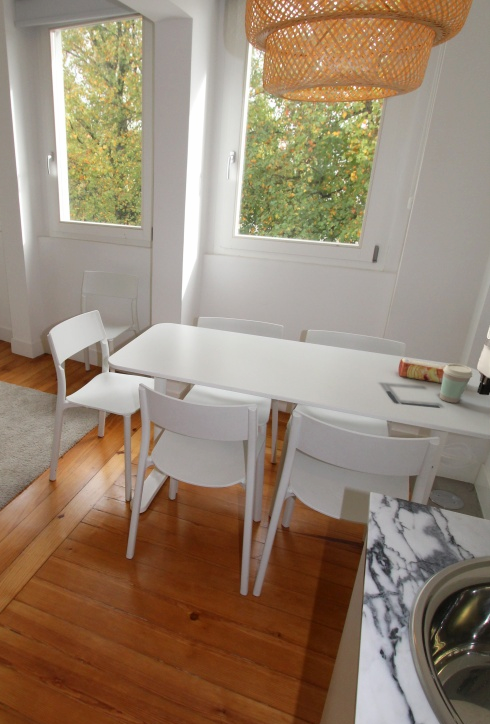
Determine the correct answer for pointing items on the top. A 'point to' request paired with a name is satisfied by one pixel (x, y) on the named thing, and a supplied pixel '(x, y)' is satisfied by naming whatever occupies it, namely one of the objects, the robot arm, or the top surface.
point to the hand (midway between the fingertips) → (483, 393)
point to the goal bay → (409, 403)
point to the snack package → (421, 370)
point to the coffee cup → (454, 382)
